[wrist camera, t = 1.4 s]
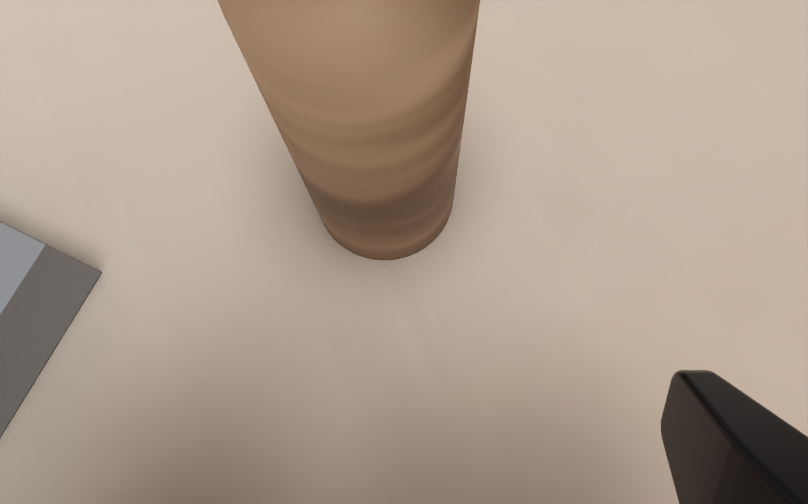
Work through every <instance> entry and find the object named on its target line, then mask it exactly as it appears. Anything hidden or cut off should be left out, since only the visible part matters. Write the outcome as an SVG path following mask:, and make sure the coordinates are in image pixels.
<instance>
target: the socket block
mask: <svg viewBox="0 0 808 504" xmlns="http://www.w3.org/2000/svg"><path fill="white" fill-rule="evenodd" d="M101 273H102V272H100V271H98V270H96V269H94V268H92V267H90V266H88V265H86V264H84V263H82V262H80V261H78V260H76V259H74V258H72V257H70V256H68V255H66V254H64V253H62V252H60V251H58V250H56V249H54V248H52V247H50V246H48V245H46V244H44V243H42V242H40V241H38V240H36V239H34V238H32V237H30V236H27V235H25V234H23V233H21V232H19V231H17V230H15V229H13V228H11V227H9V226H7V225H5V224H3V223H1V222H0V436H1V435H2V433H3V431H4V430H5V428H6V427H7V425H8V423H9V422H10V420H11V419H12V417H13V415H14V414H15V412H16V410H17V409H18V407H19V406H20V404H21V402H22V401H23V399H24V397H25V396H26V394H27V393H28V391H29V389H30V388H31V386H32V385H33V383H34V381H35V380H36V378H37V376H38V375H39V373H40V372H41V370H42V368H43V367H44V365H45V363H46V362H47V360H48V359H49V357H50V355H51V354H52V352H53V350H54V349H55V347H56V346H57V344H58V342H59V341H60V339H61V338H62V336H63V334H64V333H65V331H66V329H67V328H68V326H69V325H70V323H71V321H72V320H73V318H74V316H75V315H76V313H77V312H78V310H79V308H80V307H81V305H82V303H83V302H84V300H85V299H86V297H87V295H88V294H89V292H90V291H91V289H92V287H93V286H94V284H95V282H96V281H97V279H98V278H99V276H100V274H101Z"/></svg>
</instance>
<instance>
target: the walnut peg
mask: <svg viewBox="0 0 808 504" xmlns="http://www.w3.org/2000/svg"><path fill="white" fill-rule="evenodd" d="M218 2H219V5H220V7H221V10H222V12H223V15H224V17H225V19H226V21H227V23H228V25H229V27H230V29H231V31H232V33H233V35H234V38H235V40H236V42H237V44H238V46H239V48H240V50H241V52H242V54H243V56H244V58H245V60H246V63H247V65H248V67H249V69H250V71H251V73H252V75H253V77H254V79H255V81H256V83H257V85H258V88H259V90H260V92H261V94H262V96H263V98H264V100H265V102H266V104H267V106H268V108H269V110H270V112H271V115H272V117H273V119H274V121H275V123H276V125H277V127H278V129H279V131H280V133H281V135H282V137H283V140H284V142H285V144H286V146H287V148H288V150H289V152H290V154H291V156H292V158H293V160H294V162H295V164H296V167H297V169H298V171H299V173H300V175H301V177H302V179H303V181H304V183H305V185H306V187H307V189H308V192H309V194H310V196H311V198H312V200H313V202H314V204H315V206H316V208H317V210H318V212H319V214H320V217H321V219H322V221H323V223H324V225H325V226H326V228H327V230H328V232H329V233H330V234H331V235H332V237H333V238H334V239H335V240H336V241H337V242H338V243H339V244H340V245H342V246H343V247H344V248H346V249H347V250H349V251H351V252H353V253H355V254H357V255H360V256H362V257H366V258H370V259H376V260H393V259H399V258H403V257H406V256H409V255H412V254H414V253H416V252H418V251H420V250H422V249H423V248H425V247H426V246H427V245H429V244H430V243H431V242H432V241H433V240H434V239H435V238H436V237H437V236H438V235H439V234H440V232H441V231H442V230H443V228H444V226H445V225H446V223H447V221H448V218H449V216H450V213H451V209H452V204H453V197H454V189H455V182H456V174H457V167H458V160H459V152H460V145H461V137H462V130H463V123H464V115H465V108H466V100H467V93H468V85H469V78H470V71H471V63H472V56H473V48H474V41H475V34H476V26H477V19H478V11H479V4H480V0H218Z"/></svg>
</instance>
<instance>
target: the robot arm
mask: <svg viewBox="0 0 808 504" xmlns="http://www.w3.org/2000/svg"><path fill="white" fill-rule="evenodd" d="M661 434H662V440H663V444H664V447H665V451H666V455H667V459H668V462H669V466H670V470H671V474H672V478H673V481H674V485H675V489H676V493H677V496H678V500H679V504H808V437H807V436H806V435H804V434H803V433H801V432H800V431H798V430H797V429H796V428H794V427H793V426H791V425H790V424H788V423H787V422H785V421H784V420H782V419H781V418H780V417H778V416H777V415H775V414H774V413H772V412H771V411H769V410H768V409H766V408H765V407H763V406H762V405H761V404H759V403H758V402H756V401H755V400H753V399H752V398H750V397H749V396H747V395H746V394H745V393H743V392H742V391H740V390H739V389H737V388H736V387H734V386H733V385H731V384H730V383H729V382H727V381H726V380H724V379H723V378H721V377H720V376H718V375H717V374H715V373H713V372H711V371H707V370H680V371H678V372H676V373H675V374H674V375H673V377H672V380H671V383H670V387H669V391H668V395H667V399H666V403H665V407H664V411H663V415H662V419H661Z"/></svg>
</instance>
